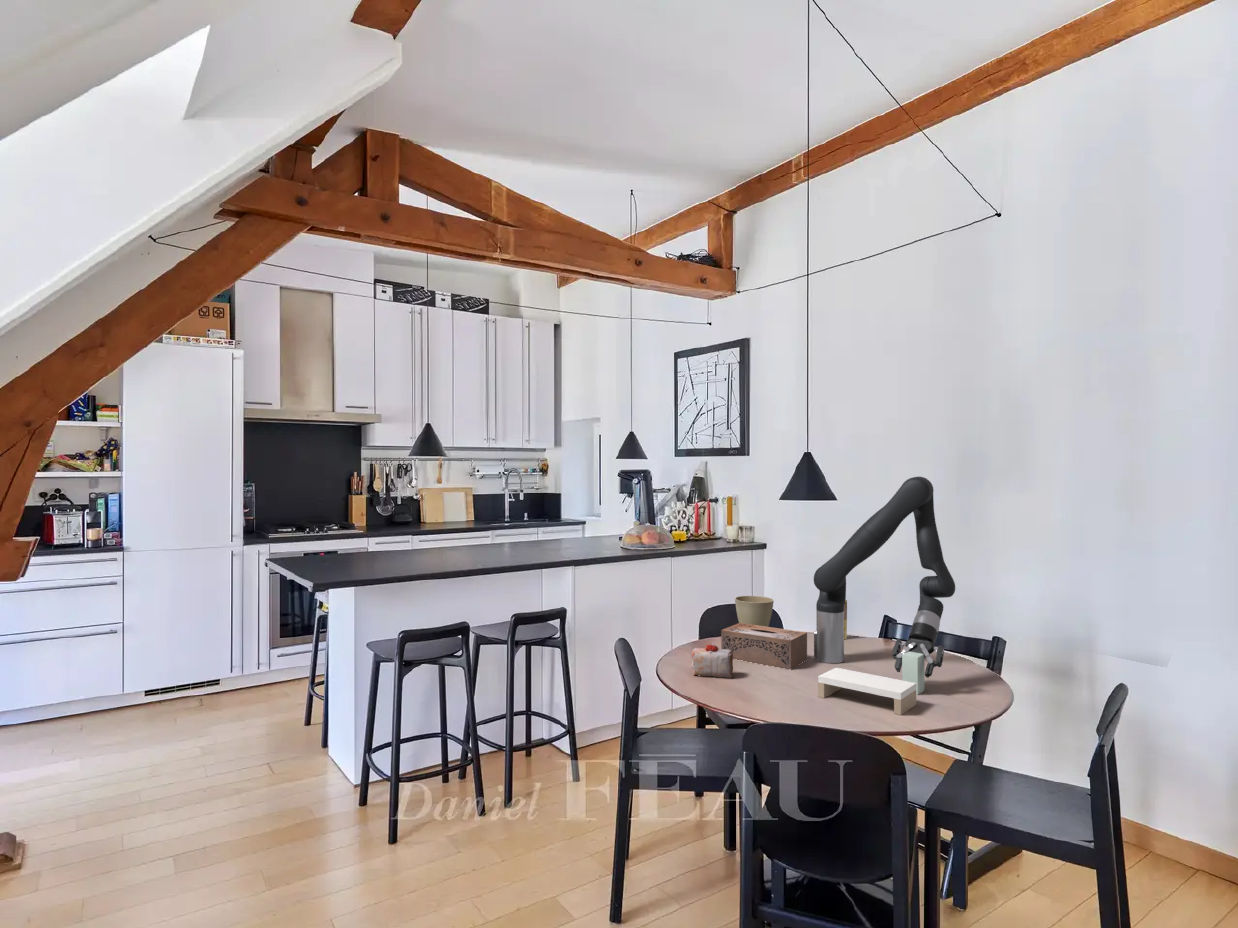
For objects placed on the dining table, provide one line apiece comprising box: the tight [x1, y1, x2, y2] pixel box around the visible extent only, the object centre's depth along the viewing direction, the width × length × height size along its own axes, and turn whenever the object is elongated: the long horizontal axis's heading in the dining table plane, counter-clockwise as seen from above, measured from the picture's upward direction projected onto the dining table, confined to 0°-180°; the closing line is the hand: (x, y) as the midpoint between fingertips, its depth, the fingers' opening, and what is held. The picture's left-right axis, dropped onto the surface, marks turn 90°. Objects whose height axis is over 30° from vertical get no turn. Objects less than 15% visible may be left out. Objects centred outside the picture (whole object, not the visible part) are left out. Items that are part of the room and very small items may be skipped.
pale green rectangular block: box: [901, 651, 926, 696], centre depth 217 cm, size 4×6×11 cm
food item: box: [690, 642, 734, 679], centre depth 234 cm, size 14×8×10 cm, turn 75°
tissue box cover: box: [720, 622, 808, 670], centre depth 253 cm, size 26×14×10 cm, turn 54°
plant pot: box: [734, 595, 775, 627], centre depth 281 cm, size 15×15×16 cm
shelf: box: [817, 667, 917, 716], centre depth 208 cm, size 24×12×6 cm, turn 49°
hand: (911, 673), depth 216 cm, fingers open, 8 cm apart
